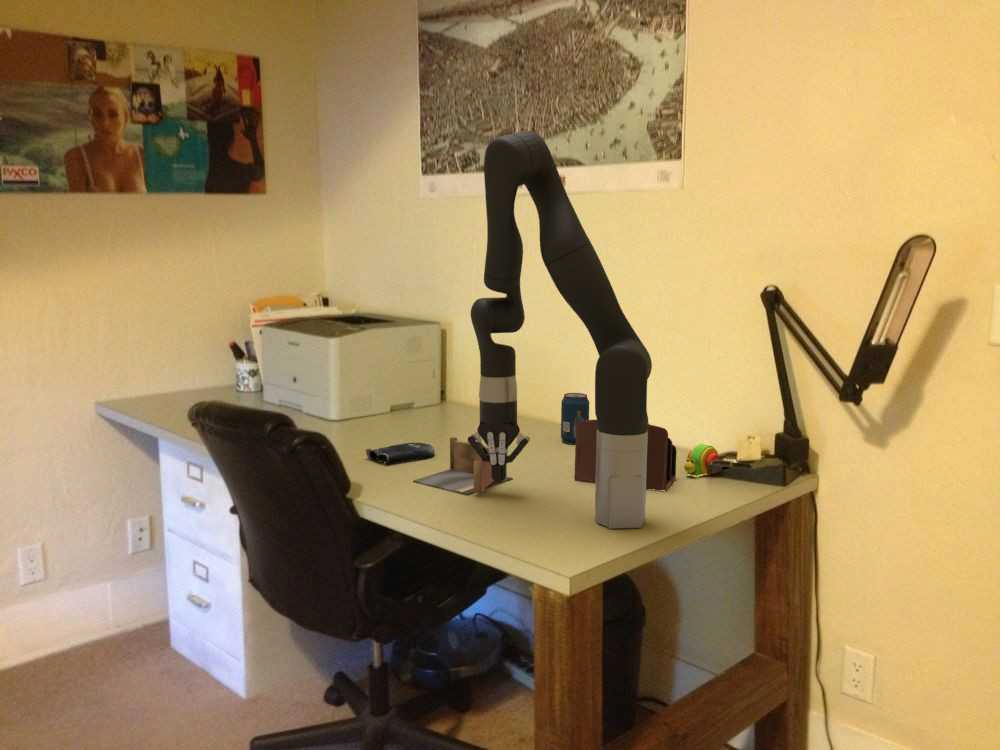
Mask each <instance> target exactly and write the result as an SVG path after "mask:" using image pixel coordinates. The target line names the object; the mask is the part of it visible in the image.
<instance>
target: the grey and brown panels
mask: <svg viewBox="0 0 1000 750" xmlns="http://www.w3.org/2000/svg"><path fill="white" fill-rule="evenodd" d="M483 446H484V447H485V448H486V450H487V451H488V452H489V446H487V445H484V444H483ZM498 453H499V450H498ZM479 459H481V458H480V456H479V455H478V454H477V452H476V451H475V450H474V448H473V447H472V446H471V444H470V443H469V442H468V441H465V440H459V439H458V438H457V437H450V438H449V469H447V470H444V471H440V472H437V473H434V474H430V475H426V476H423V477H421V478H417V479H413V483H416V484H420V485H425V486H429V487H433V488H436V489H440V490H445V491H449V492H452V493H455V494H458V495H459V494H461V495H464V496H469V495H471V494H472V495H473V494H475V493H474V461H475V460H479ZM513 479H514V478H513V477H510V476H506V479H505V480H503V482H502V483H495V481H493V482H492V483H491V484H490V485H488V486H487V487H486V488H485V489H484V490H486V489H488V488H489V489H490V488H492V487H494V486H497V485H501V484H503V483H506V482H509V481H512V480H513Z"/></svg>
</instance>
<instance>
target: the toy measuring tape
mask: <svg viewBox="0 0 1000 750" xmlns="http://www.w3.org/2000/svg"><path fill="white" fill-rule="evenodd" d="M719 457H720V456H719V453H718V450H717V449H716V448H715V447H714V446H712V445H708V444H702V443H699V444H697V445H695V446H694V447H692V449H691V450H690V451H689V452H688V454H687V457H686V462H685V464H684V467H683V468H684V471H686V473H687V474H691V475H696V476H697V475H700V474H705V473H706V472H707V469H708V465H709V464H710V462H711V461H713V460H715V459H717V458H719ZM687 474H686V475H687Z"/></svg>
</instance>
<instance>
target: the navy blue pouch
mask: <svg viewBox="0 0 1000 750" xmlns="http://www.w3.org/2000/svg"><path fill="white" fill-rule="evenodd" d="M365 453H366V456H367V460H370V459H375V460H377V459H376V458H379V459H382V457H383V458H386V461H385V460H382V461H383V462H378V461H377V462H376V463H379V464H383V463H384V461H385V462H386V466H389V465H393V464H394V465H395V464H400V463H405V462H409V461H418V460H419V461H420V460H425V459H429V458H431V457H433V456H434V454H435V448H434V446H433V445H431V444H429V443H425V442H424V443H423V442H407V443H406V442H405V443H399V444H395V445H389V446H385V447H379V448H375V449H372V448H366V450H365Z"/></svg>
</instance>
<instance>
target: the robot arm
mask: <svg viewBox="0 0 1000 750" xmlns="http://www.w3.org/2000/svg"><path fill="white" fill-rule="evenodd" d="M483 176H484V177H483V179H484V191H485V192H484V193H485V209H486V225H487V226H486V227H487V230H486V231H487V232H486V233H487V234H486V235H487V241H486V251H485V261H484V272H483V284H484V286H486V288H487V289H488V290H491V291H493V292H495V293H496V292H497V293H500V294H504V295H506V296H504V297H479V298H478V299H476V300H475V301H474V302H473V304H472V305H471V307H470V319H471V323H472V326H473V330H474V332H475V336H476V340H477V345H478V350H479V351H478V352H479V355H480V356H479V358H480V359H479V361H480V364H479V365H480V366H479V367H480V374H479V375H480V380H479V385H478V386H479V389H478V397H479V425H478V427H477V431H475V432H474V433H473V434H471V435H470V436H468V437H467V442H469V443H470V444H471V446H472V447H473V448H474V450H475V451H476V452H477V454H478V455H479V456H480V458H481V459H482V460H483V461H487V462H489V463H491V472H492V473H491V474H492V475H491V476H492V480H494V481H495V483H501V484H503V483H502V482H503V480H505V479H506V477H508V475H507V474H508V473H507V472H508V471H507V470H508V468H507V466H508V464H509V463H513V461H514V460H516V458H517V457H518V456H519V455H520V453H521V452H522V451H523V450H524V448H525V447H526V446H527V445H528V443H529V442H530V441H531V439H530V436H525V435H524V434H523V433H521V429H520V426H519V425H518V383H517V376H516V375H517V373H516V371H517V368H516V366H517V365H516V364H517V363H516V362H517V361H516V350H515V348H514V347H513V346H512V345H507V344H504V343H503V344H501V343H497V342H495V341H494V340H493V339H492V338H493V337H492V334H510V333H511V334H512V333H516V332H519V331H520V329H522V327H523V325H524V322H525V318H526V317H525V316H526V315H525V310H524V305H523V304H524V303H523V300H522V293H521V292H522V291H521V275H522V268H523V267H522V266H523V259H524V245H523V244H524V243H523V239H522V235H521V233H520V231H519V228H518V223H517V221H516V216H515V204H516V203H515V202H516V198H517V192H518V190H519V187H520V186H524V187H525V188H526V189H527V191H528V193H529V195H530V197H531V199H532V201H533V203H534V206H535V209H536V212H537V215H538V224H539V247H540V248H539V250H540V255H541V259H542V261H543V264H544V266H545V267H546V270H547V272H548V274H549V276H550V278H551V280H552V282H553V283H554V286H555V288H556V289H557V290H558V292H559V294H560V295H561V297H562V298H563V299H564V301H565V302H566V303H567V304H568V306H569V307H570V309H572V310H573V312H574V313H575V315H577V317H578V318H579V319H580V321H582V323H583V324H584V326H585V328H586V329H587V331H588V333H589V335H590V337H591V339H592V341H593V344H594V346H595V348H596V351H597V353H598V356H599V357H598V359H597V361H596V364H595V371H594V372H595V374H594V413H595V418H596V420H597V445H596V483H595V486H594V487H595V491H594V492H595V494H594V496H595V497H594V499H595V500H594V520H595V522H596V523H597V524H599V525H602V526H604V527H607V528H608V529H609V530H610V529H635V528H636V529H637V528H638V529H641V528H643V525H644V524H645V522H646V499H647V497H646V496H647V494H646V493H647V489H646V472H647V443H648V423H649V415H648V407H647V404H648V403H647V401H648V400H647V399H648V398H647V397H648V380H649V378H650V376H651V373H652V367H653V362H652V359H651V356H650V353H649V351H648V350H647V347H646V346H645V345H644V343H643V342H642V340H641V339H640V337H639V336H638V334H637V333H636V331H635V330H634V328H633V326H632V325H631V323H630V322H629V320H628V318H627V317H626V315H625V313H624V312H623V310H622V308H621V305H620V303H619V300H618V299H617V298H618V297H617V296H616V293H615V290H614V289H613V286H612V284H611V281H610V279H609V277H608V275H607V273H606V271H605V268H604V267H603V266H604V265H603V264H602V262H601V259H600V257H599V256H598V253H597V252H596V249H595V248H594V245H593V244H592V242H591V240H590V239H589V236H588V235H587V232H585V229H584V228H583V225H582V223H581V220H580V219H579V216H578V215H577V213H576V211H575V208H574V206H573V203H572V202H571V200H570V198H569V196H568V194H567V191H566V189H565V186H564V183H563V181H562V179H561V176H560V172H559V171H558V168H557V166H556V162H555V160H554V157H553V155H552V152H551V150H550V148H549V146H548V145H547V142H546V141H545V140H544V139H543V138H542V137H541V135H540V134H538V133H536V132H535V131H533V130H522V131H517V132H514V133H509V134H504V135H501V136H497V137H495V138H494V139H492V140H491V141H490V142H489V143H488V144H487V146H486V149H485V152H484V157H483ZM515 439H516V445H517V446H516V447H515V448H514V450H513V451H512V452H511V453H510V454H509V455H508V452H509V447H510V446H511V445H512V443H513V442H514V441H515ZM482 441H484V443H485V445H484V444H483V443H482ZM483 445H484V446H489V452H488V451H487V450H486V448H485V447H484V446H483ZM498 450H499V453H498Z"/></svg>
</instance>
